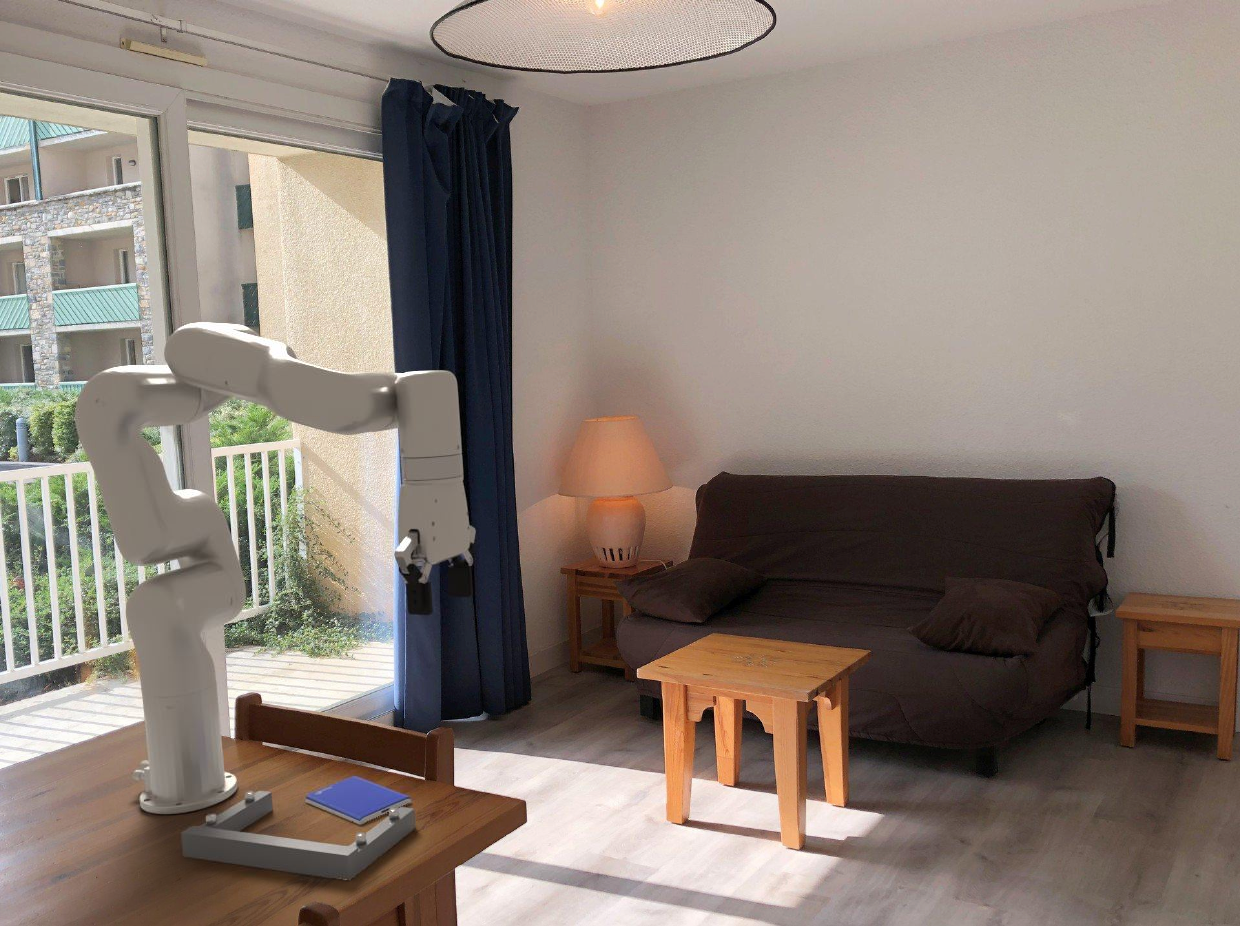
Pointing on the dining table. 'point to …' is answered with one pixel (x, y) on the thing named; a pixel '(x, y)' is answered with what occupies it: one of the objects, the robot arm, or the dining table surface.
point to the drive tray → (289, 842)
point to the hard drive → (357, 799)
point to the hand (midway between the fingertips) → (441, 604)
